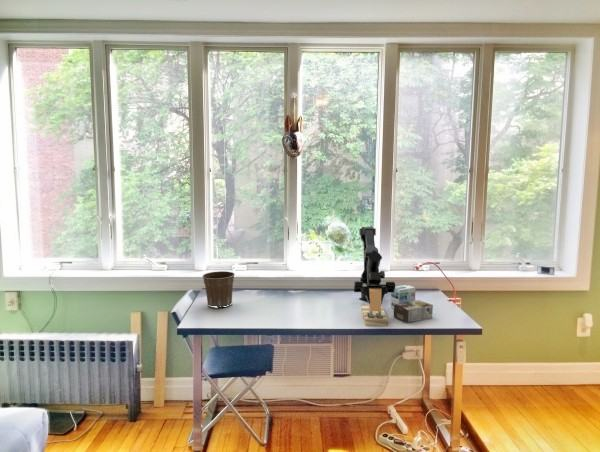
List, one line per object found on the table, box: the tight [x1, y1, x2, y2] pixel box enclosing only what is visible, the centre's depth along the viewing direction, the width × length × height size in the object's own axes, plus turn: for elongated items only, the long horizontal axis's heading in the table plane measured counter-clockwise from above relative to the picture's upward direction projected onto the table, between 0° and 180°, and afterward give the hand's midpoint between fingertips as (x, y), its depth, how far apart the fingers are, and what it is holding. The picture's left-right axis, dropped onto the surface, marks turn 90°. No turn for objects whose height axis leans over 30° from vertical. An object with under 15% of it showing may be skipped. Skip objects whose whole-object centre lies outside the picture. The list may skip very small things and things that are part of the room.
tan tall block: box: [368, 289, 382, 318], centre depth 194 cm, size 4×5×12 cm
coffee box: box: [393, 299, 434, 324], centre depth 199 cm, size 9×6×16 cm
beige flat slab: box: [360, 304, 389, 327], centre depth 200 cm, size 22×10×2 cm, turn 177°
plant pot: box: [202, 270, 236, 308], centre depth 219 cm, size 16×16×16 cm
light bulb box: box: [390, 284, 417, 310], centre depth 213 cm, size 11×7×11 cm, turn 118°
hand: (375, 303), depth 193 cm, fingers closed on tan tall block, 5 cm apart
